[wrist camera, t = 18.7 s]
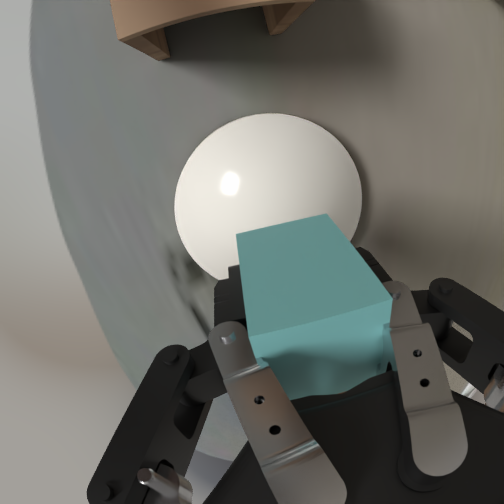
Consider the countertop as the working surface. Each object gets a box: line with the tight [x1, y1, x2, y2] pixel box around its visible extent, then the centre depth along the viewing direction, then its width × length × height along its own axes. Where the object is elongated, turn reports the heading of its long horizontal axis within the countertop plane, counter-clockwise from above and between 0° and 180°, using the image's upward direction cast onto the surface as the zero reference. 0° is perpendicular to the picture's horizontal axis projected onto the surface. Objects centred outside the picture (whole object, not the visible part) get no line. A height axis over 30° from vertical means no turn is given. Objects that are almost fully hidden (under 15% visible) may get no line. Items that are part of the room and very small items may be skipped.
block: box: [236, 213, 393, 400], centre depth 11 cm, size 4×4×6 cm
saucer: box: [174, 113, 362, 280], centre depth 20 cm, size 13×13×1 cm
